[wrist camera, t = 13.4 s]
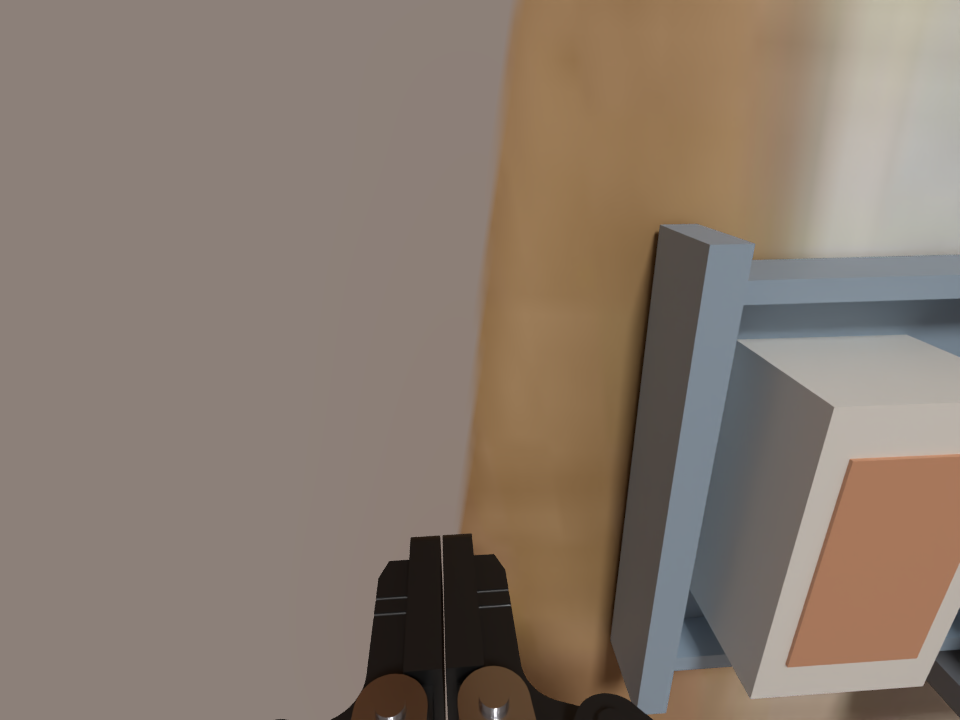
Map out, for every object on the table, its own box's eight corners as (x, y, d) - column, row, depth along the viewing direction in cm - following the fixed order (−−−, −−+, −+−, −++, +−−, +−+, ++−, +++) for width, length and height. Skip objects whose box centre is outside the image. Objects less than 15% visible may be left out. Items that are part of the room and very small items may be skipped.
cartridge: (906, 334, 15) (1062, 401, 11) (826, 577, 19) (926, 689, 15) (735, 339, 15) (837, 409, 11) (687, 585, 18) (752, 702, 14)
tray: (1150, 214, 15) (1300, 230, 12) (963, 615, 21) (1037, 683, 18) (660, 224, 14) (710, 244, 11) (610, 640, 20) (635, 715, 17)
